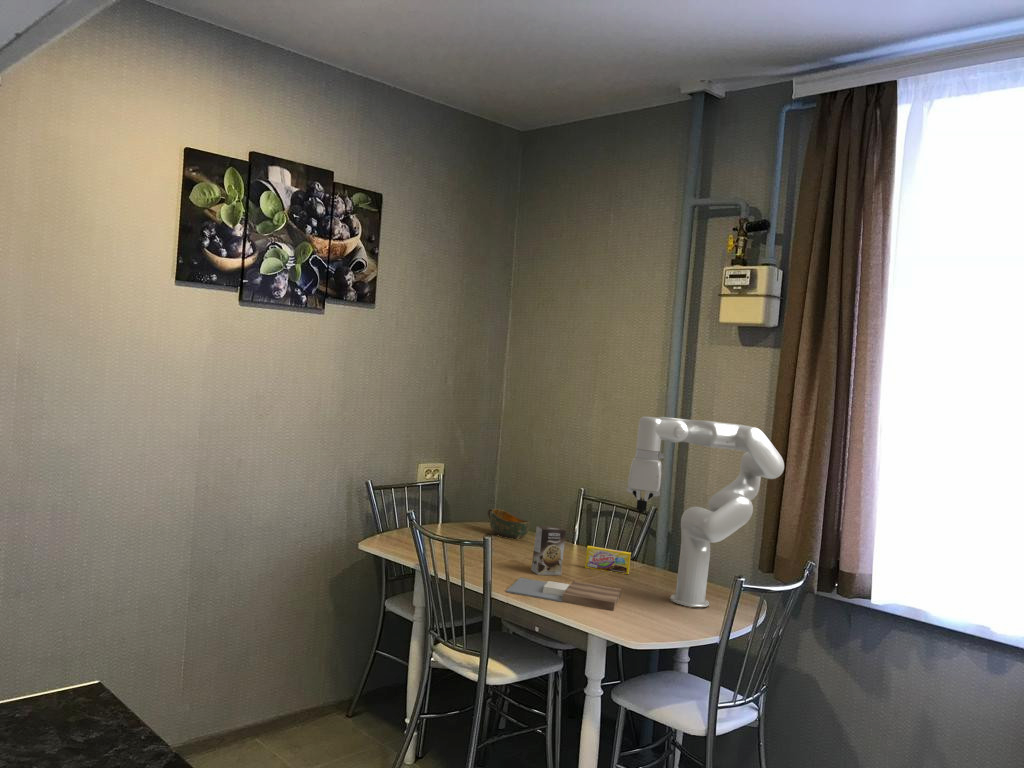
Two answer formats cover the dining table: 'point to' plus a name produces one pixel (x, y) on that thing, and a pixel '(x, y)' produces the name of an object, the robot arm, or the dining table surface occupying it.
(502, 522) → the green gourd bowl
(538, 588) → the mat
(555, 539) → the cookie box
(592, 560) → the candy box
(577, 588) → the board
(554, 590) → the tile
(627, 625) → the dining table surface
